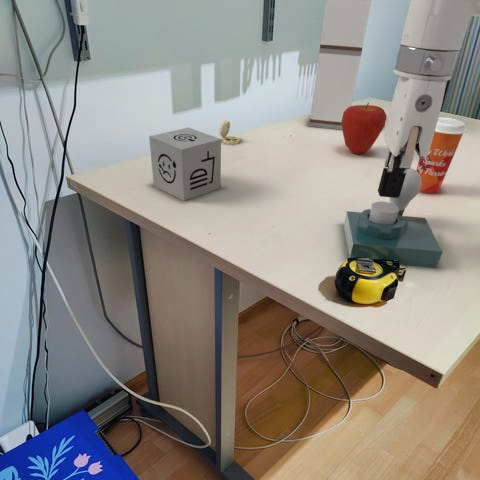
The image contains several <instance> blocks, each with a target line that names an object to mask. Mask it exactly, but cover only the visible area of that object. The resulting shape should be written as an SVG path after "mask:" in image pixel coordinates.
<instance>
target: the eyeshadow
mask: <svg viewBox="0 0 480 480" xmlns="http://www.w3.org/2000/svg"><path fill="white" fill-rule="evenodd" d="M230 129H231V122H230V121H229V120H224V121H223V122H222V123H221V125H220V127H219V131H218V134H219V136H220V138H222V142H223V143H224V144H228V145H236V144H239V143H240V138H239V137H237V136H232V135H231V136H230V135H229V132H230ZM228 135H229V136H228Z"/></svg>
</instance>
